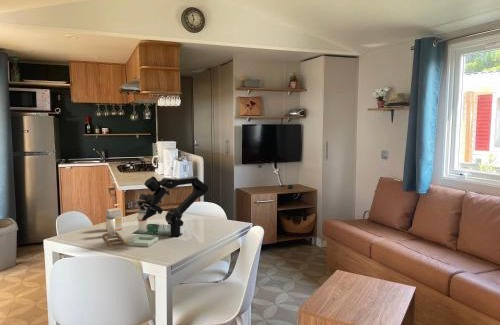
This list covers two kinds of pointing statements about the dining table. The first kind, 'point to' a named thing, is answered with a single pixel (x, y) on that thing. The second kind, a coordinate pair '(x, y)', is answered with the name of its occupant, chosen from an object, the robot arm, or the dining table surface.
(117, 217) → the supplement box
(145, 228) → the ball
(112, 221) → the cylinder
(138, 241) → the tray
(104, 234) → the wooden fuse rack
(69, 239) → the dining table surface
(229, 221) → the dining table surface
